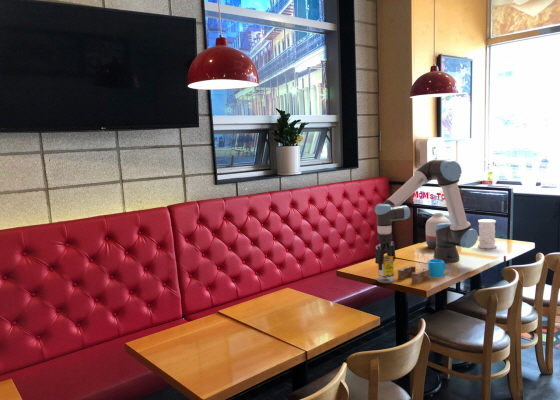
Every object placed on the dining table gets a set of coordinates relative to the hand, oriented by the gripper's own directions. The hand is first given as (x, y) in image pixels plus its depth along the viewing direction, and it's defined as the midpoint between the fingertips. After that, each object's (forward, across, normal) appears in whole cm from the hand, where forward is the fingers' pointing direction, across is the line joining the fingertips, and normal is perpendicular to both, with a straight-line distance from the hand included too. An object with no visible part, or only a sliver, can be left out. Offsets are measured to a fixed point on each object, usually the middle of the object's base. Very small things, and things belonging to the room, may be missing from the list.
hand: (386, 274), depth 242 cm
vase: (+4, -81, -23) cm, 84 cm away
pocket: (+3, -12, +9) cm, 15 cm away
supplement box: (+1, 0, 0) cm, 1 cm away
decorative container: (+4, -102, 0) cm, 102 cm away
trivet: (+3, 0, 0) cm, 3 cm away
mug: (+4, -27, +14) cm, 31 cm away
